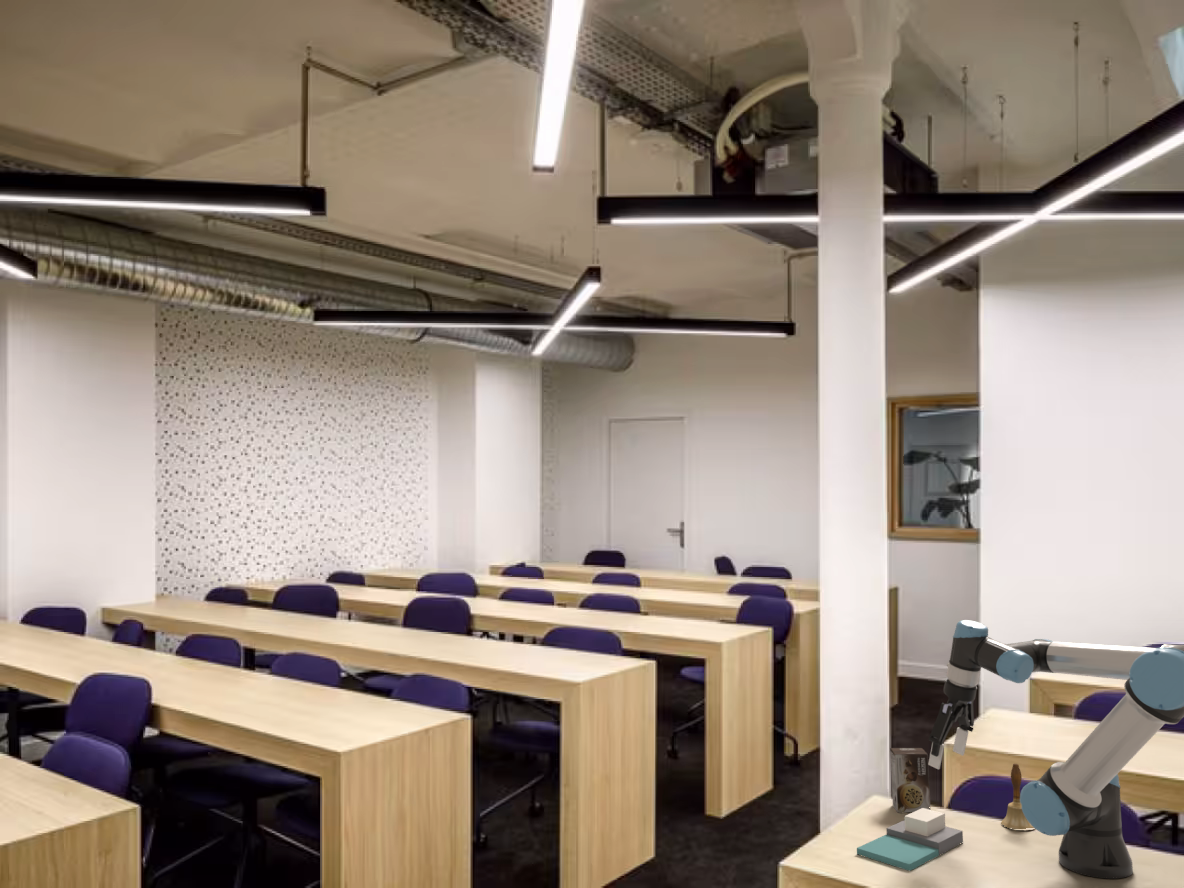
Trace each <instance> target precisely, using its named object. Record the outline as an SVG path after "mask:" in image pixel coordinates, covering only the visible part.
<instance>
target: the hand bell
mask: <svg viewBox="0 0 1184 888" xmlns="http://www.w3.org/2000/svg"><path fill="white" fill-rule="evenodd" d="M1022 780H1023V779H1022V772H1021V769H1020V766H1019V764H1018V763H1013V764H1012V768H1011V771H1010V781H1011V784H1012V789H1013V793H1012V795H1013V798H1012V799H1013V800H1012V802H1009V803H1008V805H1007V810H1006V816H1005V817H1004V818H1003V819H1002V820H1001V822H1000V825H1001V824H1002V825H1004V826H1005V827H1007V828H1006V829H1008V828H1012V829H1026V828H1034V827H1033V826H1032V825H1031V824H1030V823H1029V822H1028V820H1027V819H1026V817H1025V816H1024V813H1023V811H1022V805H1021V803H1020V794H1021V790H1020V789H1021V786H1022ZM1002 825H1001V826H1002ZM1005 827H1004V828H1005Z"/></svg>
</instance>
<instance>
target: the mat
mask: <svg viewBox="0 0 1184 888" xmlns="http://www.w3.org/2000/svg"><path fill="white" fill-rule="evenodd" d="M858 854H859V855H858ZM856 855H858V856H861V855H862V856H861V857H864V856H865V857H864V858H867V857H868V859H870V858H871V859H870V860H873V859H874V860H873V861H877V862H880V861H881V862H880V863H883V862H884V863H883V864H886V863H887V864H886V865H889V864H890V866H893V867H896V868H899V869H903V870H905V871H909V872H910V871H912V870H914V869H916V868H918V867H921V866H922V865H924V864H926V863H928V862H930V861H932V860H933V859H936V858H937V857H939V856H940V855H939V850H938V849H935V848H932V847H928V846H925V845H921V844H918V843H914V842H911V841H907V840H904V839H901V838H897V837H894V836H890V835H887V833H886V834H885V835H882V836H880V837H877V838H876V839H873V840H871V841H868V842H867V843H865V844H863V845H860V846H858V847H856ZM935 857H936V858H935ZM929 860H930V861H929ZM927 861H928V862H927ZM925 862H926V863H925Z"/></svg>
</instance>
